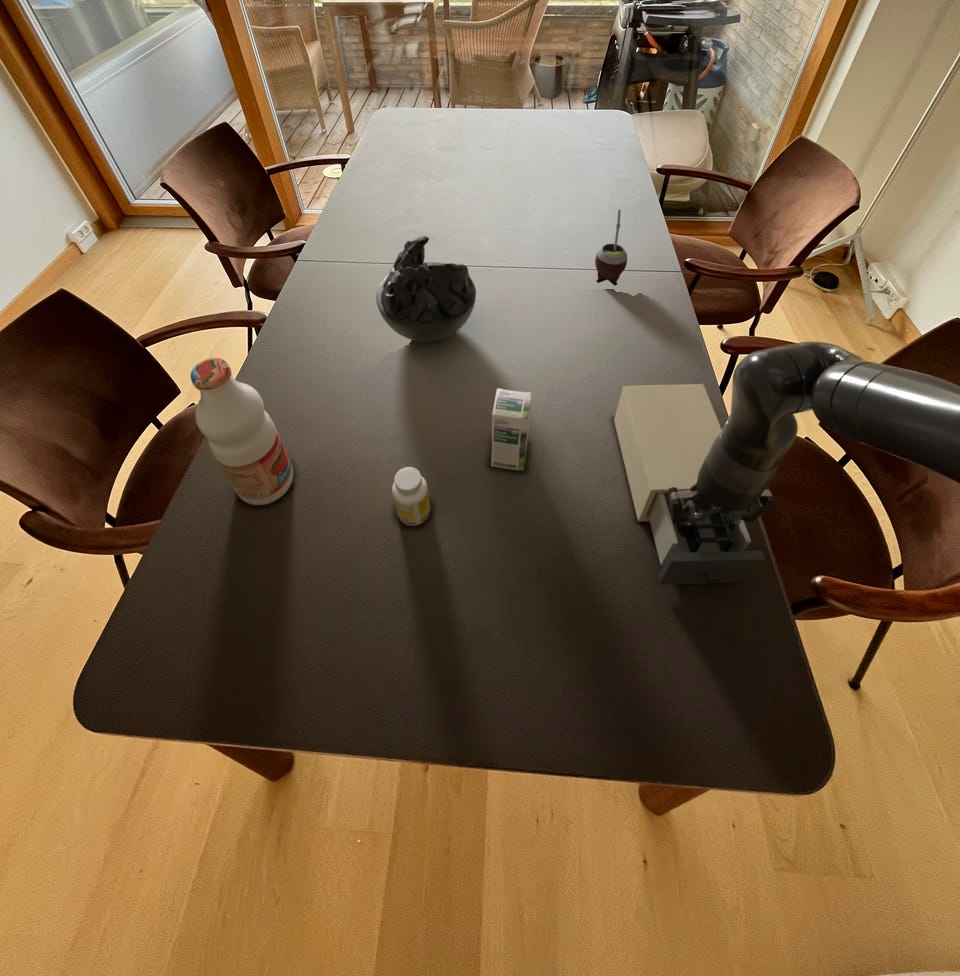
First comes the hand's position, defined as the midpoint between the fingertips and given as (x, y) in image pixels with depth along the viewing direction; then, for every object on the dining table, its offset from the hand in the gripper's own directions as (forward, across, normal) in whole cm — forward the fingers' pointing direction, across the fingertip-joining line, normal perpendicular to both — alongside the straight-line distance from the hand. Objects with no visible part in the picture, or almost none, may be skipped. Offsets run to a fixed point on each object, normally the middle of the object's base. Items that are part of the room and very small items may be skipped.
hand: (701, 530), depth 82 cm
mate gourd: (+6, 0, -66) cm, 66 cm away
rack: (0, 0, 0) cm, 0 cm away
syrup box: (+6, +26, -18) cm, 32 cm away
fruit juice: (+7, +68, -14) cm, 69 cm away
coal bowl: (+6, +42, -50) cm, 65 cm away
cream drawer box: (+6, 0, -15) cm, 16 cm away
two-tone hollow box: (+5, 0, -3) cm, 6 cm away
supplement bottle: (+7, +42, -8) cm, 44 cm away
